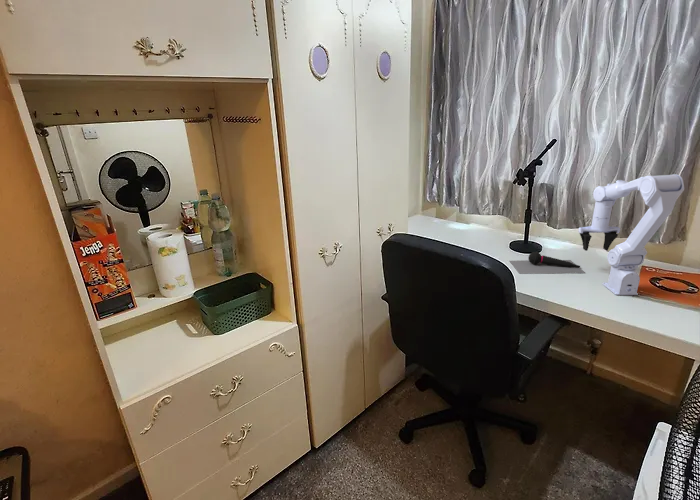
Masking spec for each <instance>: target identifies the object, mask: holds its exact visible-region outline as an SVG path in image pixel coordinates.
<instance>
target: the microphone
mask: <svg viewBox="0 0 700 500" xmlns="http://www.w3.org/2000/svg"><path fill="white" fill-rule="evenodd" d="M528 260H529V262H531V263H533V265H536V264H538V263H542V264H547V265H556V266H563V267H579V268H581V265H578V264H576V263H575V264H572V263H570V262H568V261H564V260H565V259H559V258H556V257H551V256H546V255H542V254H541V253H539V251H533V252H531V253H529V254H528Z"/></svg>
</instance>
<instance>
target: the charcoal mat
mask: <svg viewBox="0 0 700 500" xmlns="http://www.w3.org/2000/svg"><path fill="white" fill-rule="evenodd" d="M563 260H564V261H568V262H570V263H572V264H576V263H574V261H572V259H563ZM509 263H510V264H511V265H512V267H513V268H514V269H515V270H516V271H517V273H518V274H520V275H521V274H522V275H523V274H524V275H527V274H531V275H532V274H540V275H541V274H548V275H549V274H586V271H584V270H583V269H582V268H581V267H563V266H556V265H547V264H542V263H538V264H536V265H533V263H531V262H529V260H509Z"/></svg>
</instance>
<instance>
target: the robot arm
mask: <svg viewBox="0 0 700 500" xmlns="http://www.w3.org/2000/svg"><path fill="white" fill-rule="evenodd" d="M684 184H685V183H684V179H683V177H682V176H681V175H679V174H676V173H675V174H674V173H673V174H661V175H646V176H640V177H638V178H636V179H633V180H631V181H626V180H623V179H617V180H616V181H615V182H614V183H609V182H608V183H607V184H606V185H604V186H602V185H598V186H596V187H595V188H594V190H593V193H592V195H593V196H592V197H593V200H594V202H595V203H594V209H593V213H592V219H591V224H590V225H589V226H582V227H578V229H577V230H578V231H577V232H578V234H579V236H580V239H581V242H582V249H583V250H584V251H588V250H589V246H590V245H589V244H590V241H591V238H592V235H591V233H593V234H594V233H604V241H603V248H602V249H603V250H605V251H608V252H607V262H608V264H609V265H610V270H609V275H608V280H607V282H602V283H601V284H602V285H603V286H604V287H605V288H607V290H609V291H610V292H612V294H614V295H616V296H638V293H639V292H638V288H639V284H640V279H641V277H640V275H639V274H638V273H637V271H636V269H638V268H639V266H641V265H642V264H643V263H644V261H645V257H646V255H647V254H648V251H647V249H646V248H645V246H647V244H648V243H649V242H650V240H651V238H652V237H654V235H655V234H656V233H657V231H658V230H659V228H660V227H662V225H663V223H664V222H665V221H666V220H667V218H668V217H669V216H670V214H672V212H673V210H674V208H675V205H676V203H677V200H678V198H679V197H680V196H681V194H683V192H684V191H685V185H684ZM635 191H639V192H640V194H641V197H642V198H643V201H644V204H645V205H646V206H647V207H649V208H648V209H647V211H646V212H645V213H644V215H643V216H642V217H641V219H640V220H639V221H638V223H637V224H636V226H635V227H634V228H633V230H632V232H631V233H630V234H629V236H628V237H627V239H625V241H623V242H621V243H618V244H616V245H615V246H614V247H613V248H612V249H610V250H609V248H610V247H611V245H612V243H613V242H614V241H615V240H616V238H618V237H619V236H618V235H619V233H620V232H621V227H620V226H612V225H611V226H610V222H611V216H612V211H613V206H614V205H615V203H616V201H617V200H618V199H620V198H624V197H628V196H629V195H630V194H631V192H635ZM637 292H638V293H637Z"/></svg>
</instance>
